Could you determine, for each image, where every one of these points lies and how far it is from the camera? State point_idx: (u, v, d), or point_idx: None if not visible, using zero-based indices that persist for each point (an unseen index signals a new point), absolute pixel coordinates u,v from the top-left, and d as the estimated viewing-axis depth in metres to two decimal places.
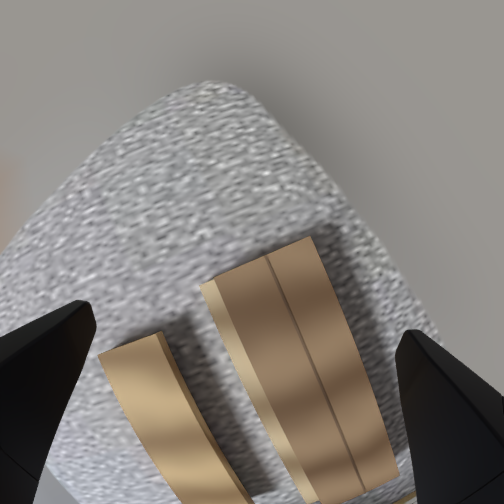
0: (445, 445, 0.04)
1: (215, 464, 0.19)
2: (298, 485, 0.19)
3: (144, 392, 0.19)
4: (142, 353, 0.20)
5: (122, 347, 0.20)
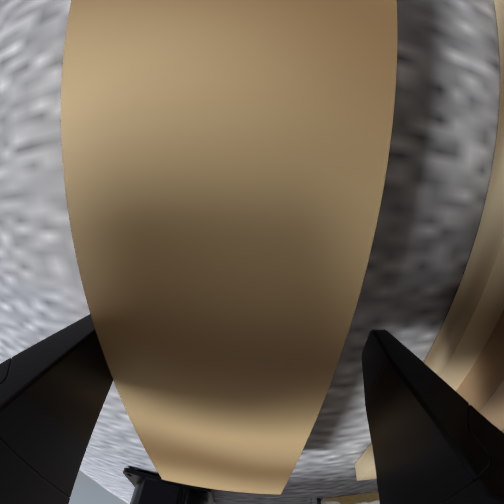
0: (405, 454, 0.04)
1: (292, 432, 0.07)
2: None
3: (198, 123, 0.04)
4: None
5: None
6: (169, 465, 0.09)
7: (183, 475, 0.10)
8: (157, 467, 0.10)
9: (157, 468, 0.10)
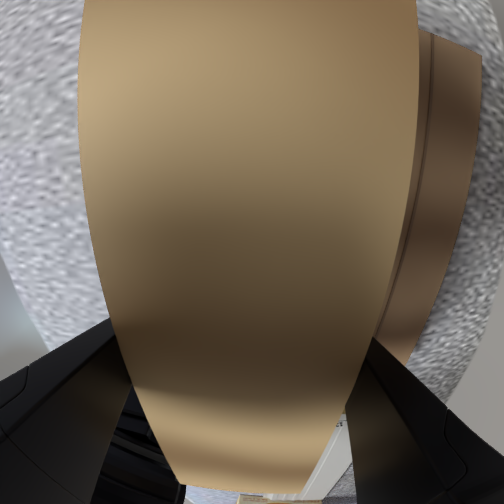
0: (380, 457, 0.04)
1: (316, 429, 0.07)
2: None
3: (227, 114, 0.04)
4: None
5: None
6: (188, 468, 0.09)
7: (202, 478, 0.10)
8: (175, 471, 0.10)
9: (175, 472, 0.10)
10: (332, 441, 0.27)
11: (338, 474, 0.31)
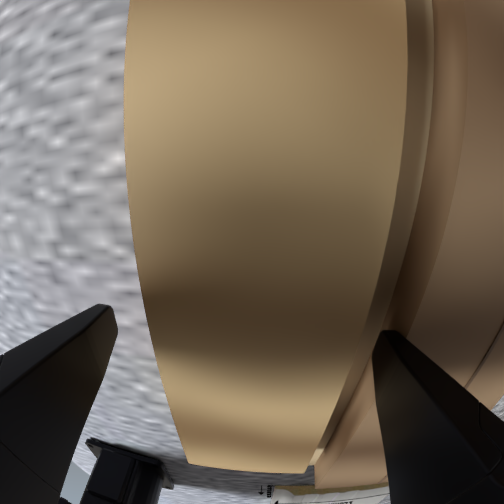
0: (417, 451, 0.04)
1: (322, 398, 0.08)
2: None
3: (253, 115, 0.05)
4: None
5: None
6: (198, 445, 0.10)
7: (211, 456, 0.11)
8: (185, 449, 0.11)
9: (185, 450, 0.11)
10: None
11: None
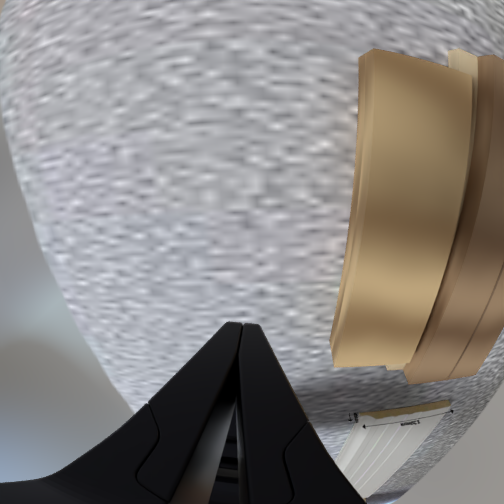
0: (239, 460, 0.05)
1: (434, 280, 0.15)
2: None
3: (423, 137, 0.11)
4: (447, 86, 0.10)
5: (423, 61, 0.10)
6: (353, 339, 0.17)
7: (357, 351, 0.17)
8: (341, 348, 0.17)
9: (340, 349, 0.17)
10: (400, 439, 0.26)
11: (393, 470, 0.30)
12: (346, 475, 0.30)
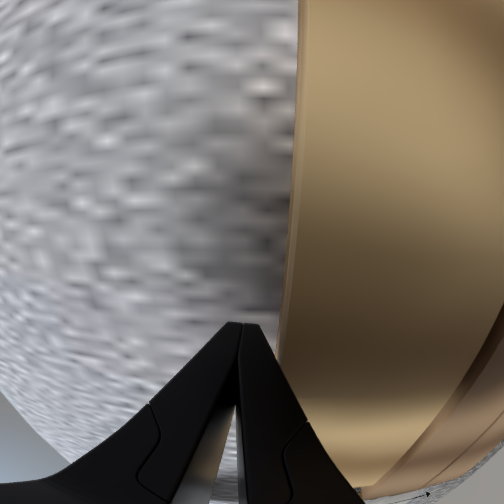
0: (238, 460, 0.05)
1: (424, 416, 0.07)
2: None
3: (449, 154, 0.04)
4: (501, 35, 0.03)
5: None
6: None
7: None
8: None
9: None
10: None
11: None
12: None
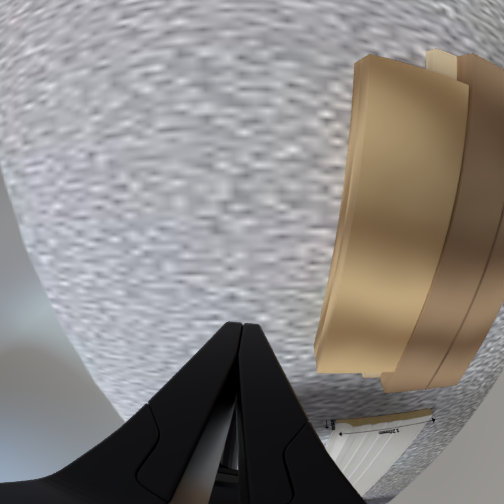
0: (239, 460, 0.05)
1: (421, 290, 0.15)
2: None
3: (415, 145, 0.12)
4: (443, 94, 0.10)
5: (419, 69, 0.10)
6: (337, 346, 0.17)
7: (340, 357, 0.17)
8: (324, 354, 0.17)
9: (323, 355, 0.17)
10: (381, 446, 0.26)
11: (378, 476, 0.30)
12: None
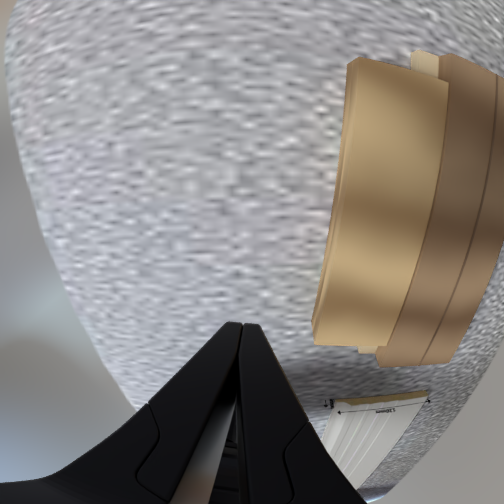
0: (239, 460, 0.05)
1: (408, 266, 0.17)
2: None
3: (399, 135, 0.14)
4: (424, 91, 0.12)
5: (403, 69, 0.12)
6: (332, 318, 0.19)
7: (336, 329, 0.19)
8: (321, 325, 0.19)
9: (320, 327, 0.19)
10: (379, 428, 0.28)
11: (377, 462, 0.32)
12: None
